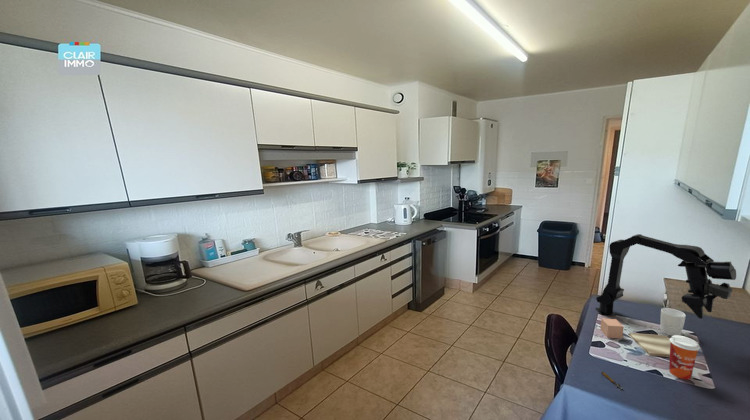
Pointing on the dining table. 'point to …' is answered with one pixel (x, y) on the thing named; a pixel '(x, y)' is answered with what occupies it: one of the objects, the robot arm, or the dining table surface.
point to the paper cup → (682, 356)
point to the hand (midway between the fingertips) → (705, 315)
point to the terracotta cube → (611, 328)
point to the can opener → (611, 380)
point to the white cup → (672, 321)
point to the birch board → (653, 344)
